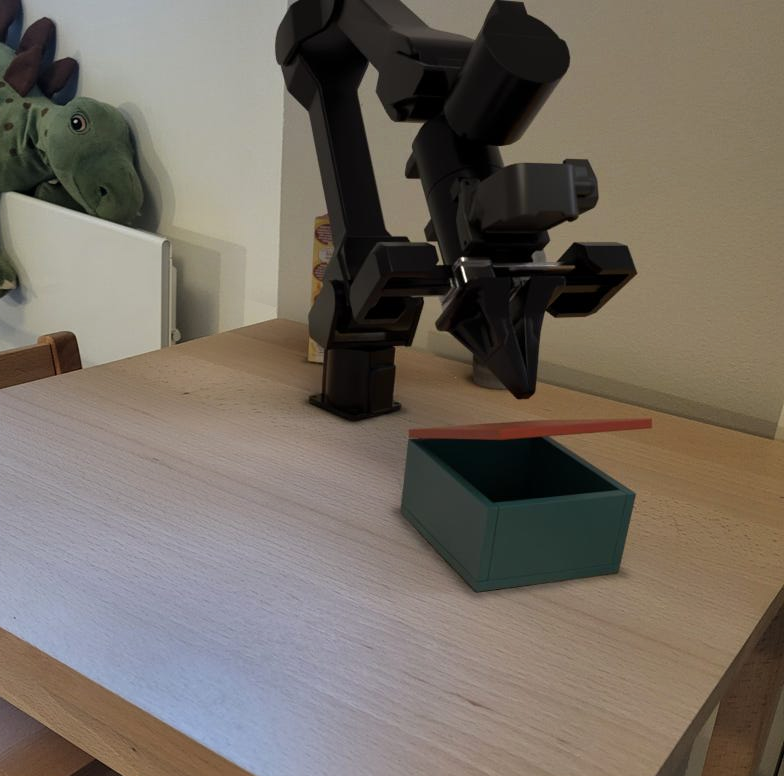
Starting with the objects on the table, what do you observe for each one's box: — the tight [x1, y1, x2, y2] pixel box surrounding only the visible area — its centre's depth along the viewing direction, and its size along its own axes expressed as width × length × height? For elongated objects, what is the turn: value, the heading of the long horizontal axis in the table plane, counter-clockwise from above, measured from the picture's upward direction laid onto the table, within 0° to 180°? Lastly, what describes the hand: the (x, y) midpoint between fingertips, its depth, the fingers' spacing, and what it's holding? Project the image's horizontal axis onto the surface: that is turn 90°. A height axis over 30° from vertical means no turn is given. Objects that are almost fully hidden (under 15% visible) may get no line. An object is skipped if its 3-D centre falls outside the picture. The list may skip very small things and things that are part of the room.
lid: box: [408, 417, 653, 440], centre depth 59 cm, size 12×10×1 cm
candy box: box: [307, 212, 334, 364], centre depth 99 cm, size 9×4×15 cm, turn 161°
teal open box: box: [399, 436, 637, 593], centre depth 61 cm, size 11×10×6 cm
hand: (526, 396), depth 58 cm, fingers closed
